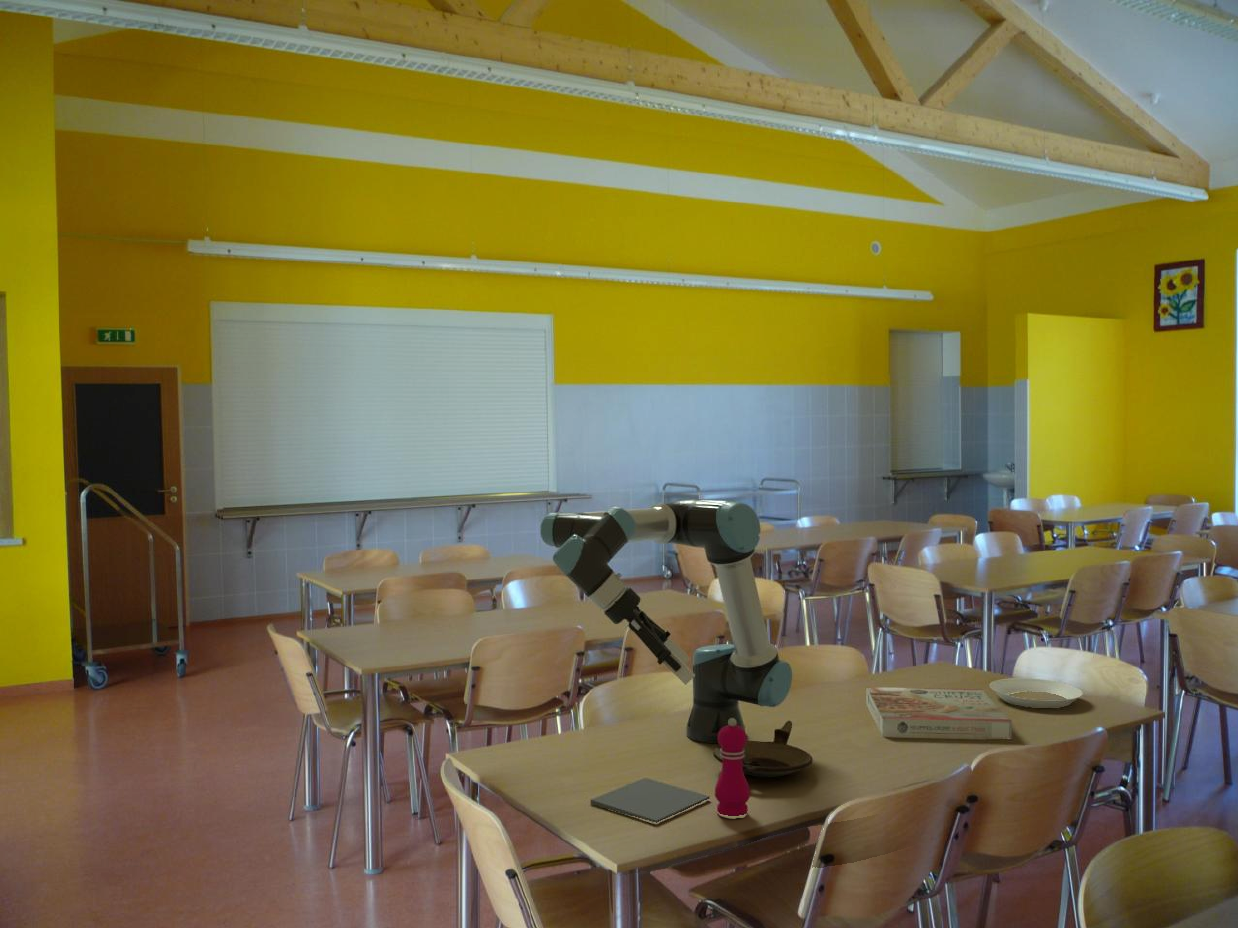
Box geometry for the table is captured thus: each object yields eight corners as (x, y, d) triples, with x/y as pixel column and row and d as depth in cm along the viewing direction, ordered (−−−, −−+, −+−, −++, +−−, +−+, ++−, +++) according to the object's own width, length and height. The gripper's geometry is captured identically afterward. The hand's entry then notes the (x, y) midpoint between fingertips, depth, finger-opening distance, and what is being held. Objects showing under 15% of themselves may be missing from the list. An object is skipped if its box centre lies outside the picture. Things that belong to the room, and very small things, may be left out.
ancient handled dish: (690, 773, 244) (690, 740, 244) (776, 746, 264) (776, 716, 264) (764, 799, 227) (764, 763, 227) (849, 768, 247) (850, 735, 247)
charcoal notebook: (590, 804, 225) (590, 799, 225) (645, 782, 238) (645, 777, 238) (656, 825, 213) (656, 820, 213) (709, 800, 226) (709, 796, 226)
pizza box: (882, 718, 271) (866, 686, 303) (882, 738, 271) (866, 705, 303) (1012, 721, 268) (981, 689, 300) (1011, 742, 268) (981, 707, 300)
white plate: (971, 694, 314) (971, 681, 313) (1042, 687, 321) (1042, 675, 321) (1027, 716, 290) (1028, 703, 290) (1102, 708, 297) (1102, 695, 297)
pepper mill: (722, 822, 214) (722, 724, 213) (709, 809, 221) (709, 714, 220) (755, 818, 216) (755, 721, 215) (742, 805, 223) (742, 712, 222)
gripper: (628, 596, 204) (706, 673, 205) (628, 576, 229) (697, 645, 230) (601, 623, 205) (678, 700, 205) (603, 600, 229) (672, 669, 230)
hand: (688, 671), depth 218 cm, fingers open, 13 cm apart
